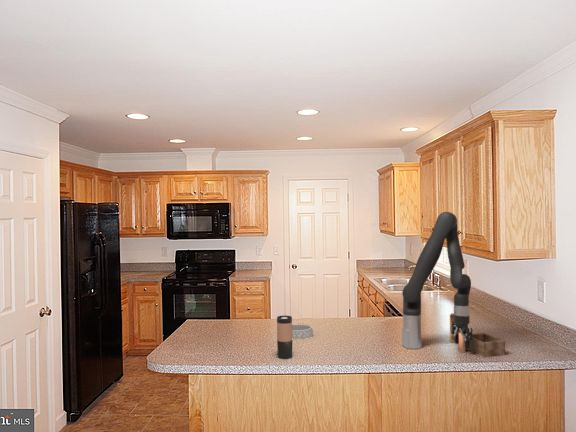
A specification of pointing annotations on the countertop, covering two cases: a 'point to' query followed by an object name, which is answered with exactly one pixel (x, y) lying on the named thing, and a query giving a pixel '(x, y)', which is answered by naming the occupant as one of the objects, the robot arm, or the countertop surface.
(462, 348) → the peg
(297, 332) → the dog bowl
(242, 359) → the countertop surface
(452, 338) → the candy box
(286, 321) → the travel mug
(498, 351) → the open box
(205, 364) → the countertop surface
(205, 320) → the countertop surface
